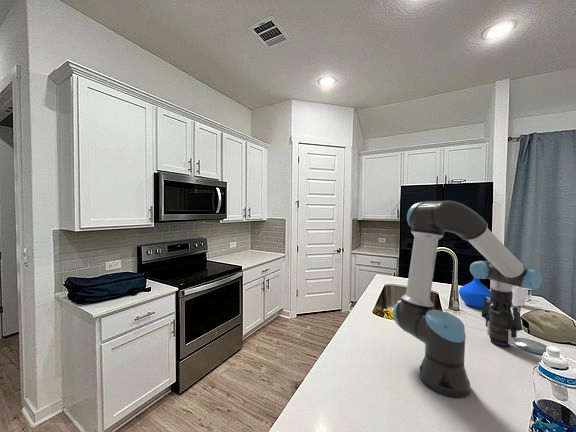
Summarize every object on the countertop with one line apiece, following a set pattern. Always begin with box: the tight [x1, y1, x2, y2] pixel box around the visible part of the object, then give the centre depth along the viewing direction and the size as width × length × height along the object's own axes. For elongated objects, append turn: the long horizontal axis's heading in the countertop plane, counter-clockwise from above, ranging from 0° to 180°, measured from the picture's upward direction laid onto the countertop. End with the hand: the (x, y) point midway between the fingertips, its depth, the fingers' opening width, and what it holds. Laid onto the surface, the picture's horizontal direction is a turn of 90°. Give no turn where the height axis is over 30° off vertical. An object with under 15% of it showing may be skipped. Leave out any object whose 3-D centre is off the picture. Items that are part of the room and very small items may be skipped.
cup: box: [512, 285, 528, 308], centre depth 161 cm, size 9×9×12 cm
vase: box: [458, 276, 493, 309], centre depth 159 cm, size 18×18×19 cm
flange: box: [513, 337, 548, 356], centre depth 110 cm, size 12×12×1 cm
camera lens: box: [488, 308, 513, 349], centre depth 113 cm, size 8×8×15 cm
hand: (500, 338), depth 113 cm, fingers closed on camera lens, 8 cm apart
